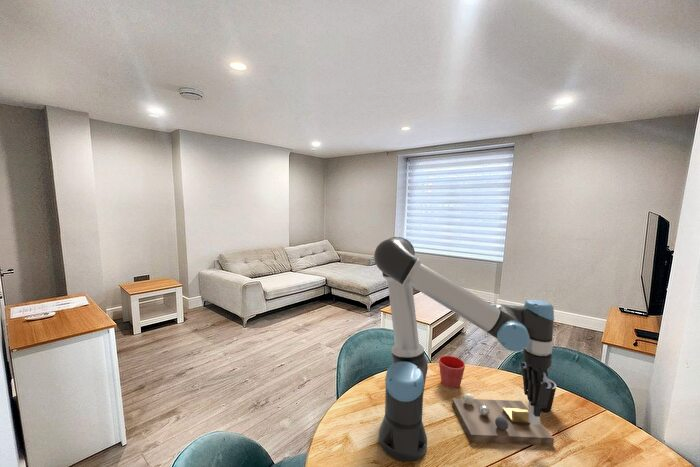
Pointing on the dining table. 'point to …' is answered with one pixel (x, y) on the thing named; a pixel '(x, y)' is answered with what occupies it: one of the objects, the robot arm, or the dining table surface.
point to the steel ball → (484, 411)
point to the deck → (487, 429)
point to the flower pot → (451, 371)
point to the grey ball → (501, 423)
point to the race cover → (517, 414)
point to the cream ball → (469, 399)
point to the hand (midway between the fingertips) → (533, 422)
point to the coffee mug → (550, 399)
